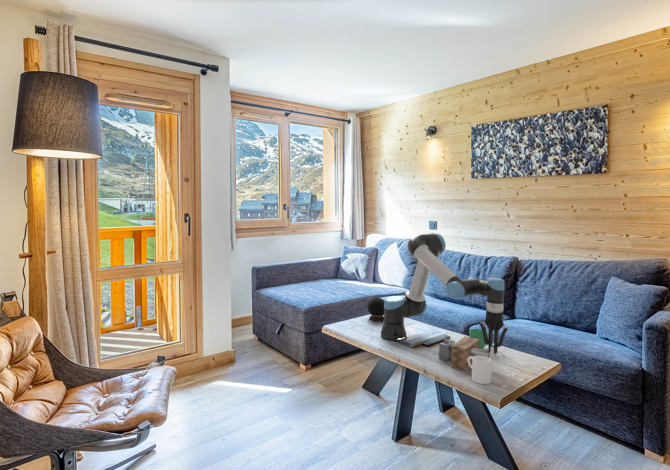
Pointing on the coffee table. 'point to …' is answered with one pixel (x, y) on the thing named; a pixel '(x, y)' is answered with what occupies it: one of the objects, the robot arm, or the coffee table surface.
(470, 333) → the mug
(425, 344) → the coffee table surface
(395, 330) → the robot arm
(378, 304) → the black ball on base
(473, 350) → the axle
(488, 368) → the mug
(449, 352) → the cradle
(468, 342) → the beam
